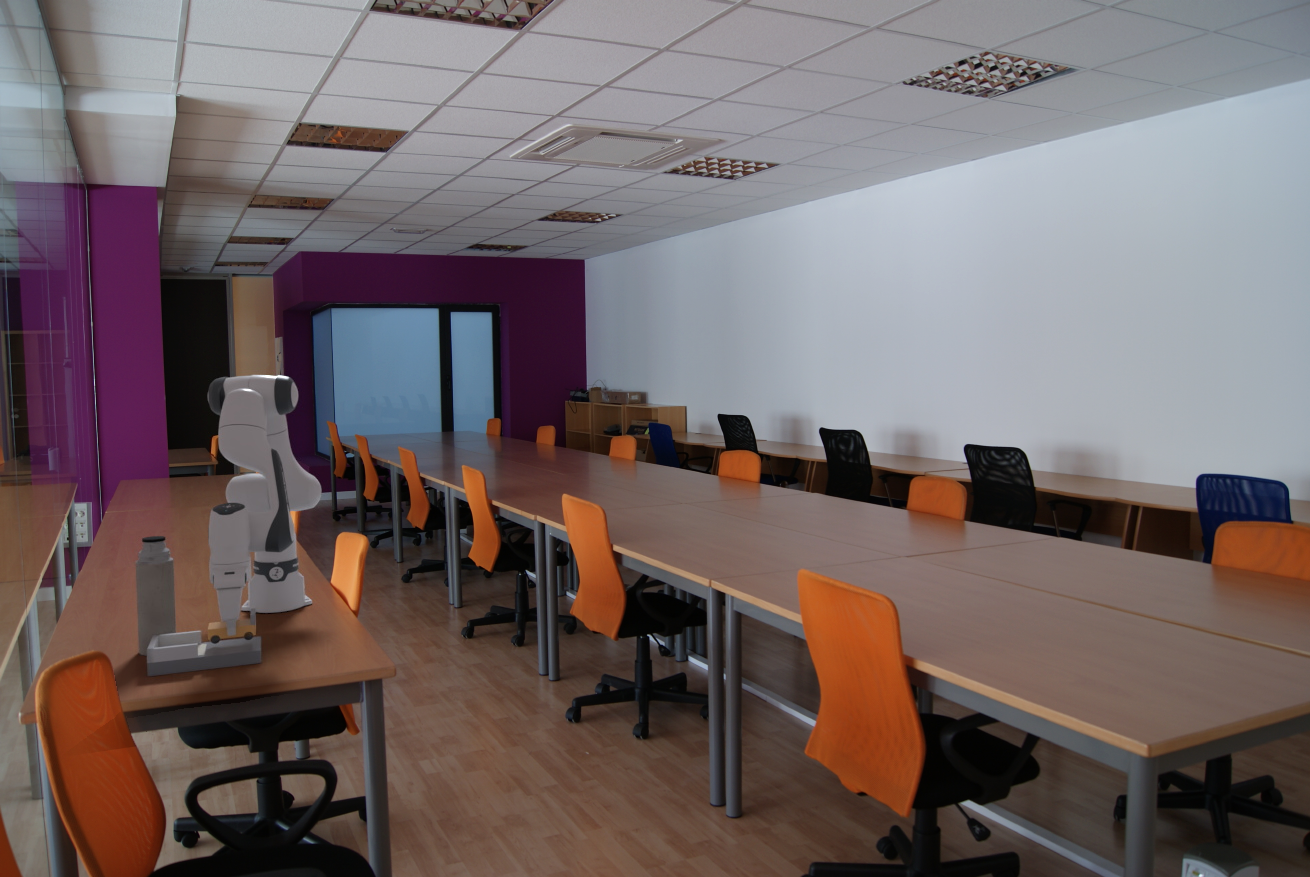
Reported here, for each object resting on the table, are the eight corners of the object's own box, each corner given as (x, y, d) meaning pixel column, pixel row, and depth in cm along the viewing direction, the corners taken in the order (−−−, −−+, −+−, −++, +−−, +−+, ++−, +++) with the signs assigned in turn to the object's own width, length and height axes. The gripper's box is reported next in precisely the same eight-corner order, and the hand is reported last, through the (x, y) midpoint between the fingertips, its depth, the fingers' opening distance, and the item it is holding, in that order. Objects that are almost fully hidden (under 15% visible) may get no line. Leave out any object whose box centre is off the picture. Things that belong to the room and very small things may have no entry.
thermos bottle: (150, 645, 215) (146, 534, 213) (182, 645, 215) (179, 534, 213) (132, 655, 207) (127, 540, 205) (165, 655, 207) (161, 540, 205)
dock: (154, 660, 204) (153, 635, 203) (261, 648, 213) (260, 624, 213) (147, 676, 193) (146, 649, 192) (261, 662, 202) (260, 637, 202)
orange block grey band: (209, 637, 206) (208, 612, 205) (256, 632, 210) (255, 608, 209) (208, 644, 200) (207, 618, 200) (255, 639, 204) (255, 614, 204)
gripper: (217, 565, 212) (219, 620, 213) (213, 583, 193) (215, 644, 194) (246, 563, 215) (248, 617, 215) (244, 580, 196) (246, 640, 197)
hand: (232, 630), depth 205 cm, fingers closed on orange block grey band, 6 cm apart
